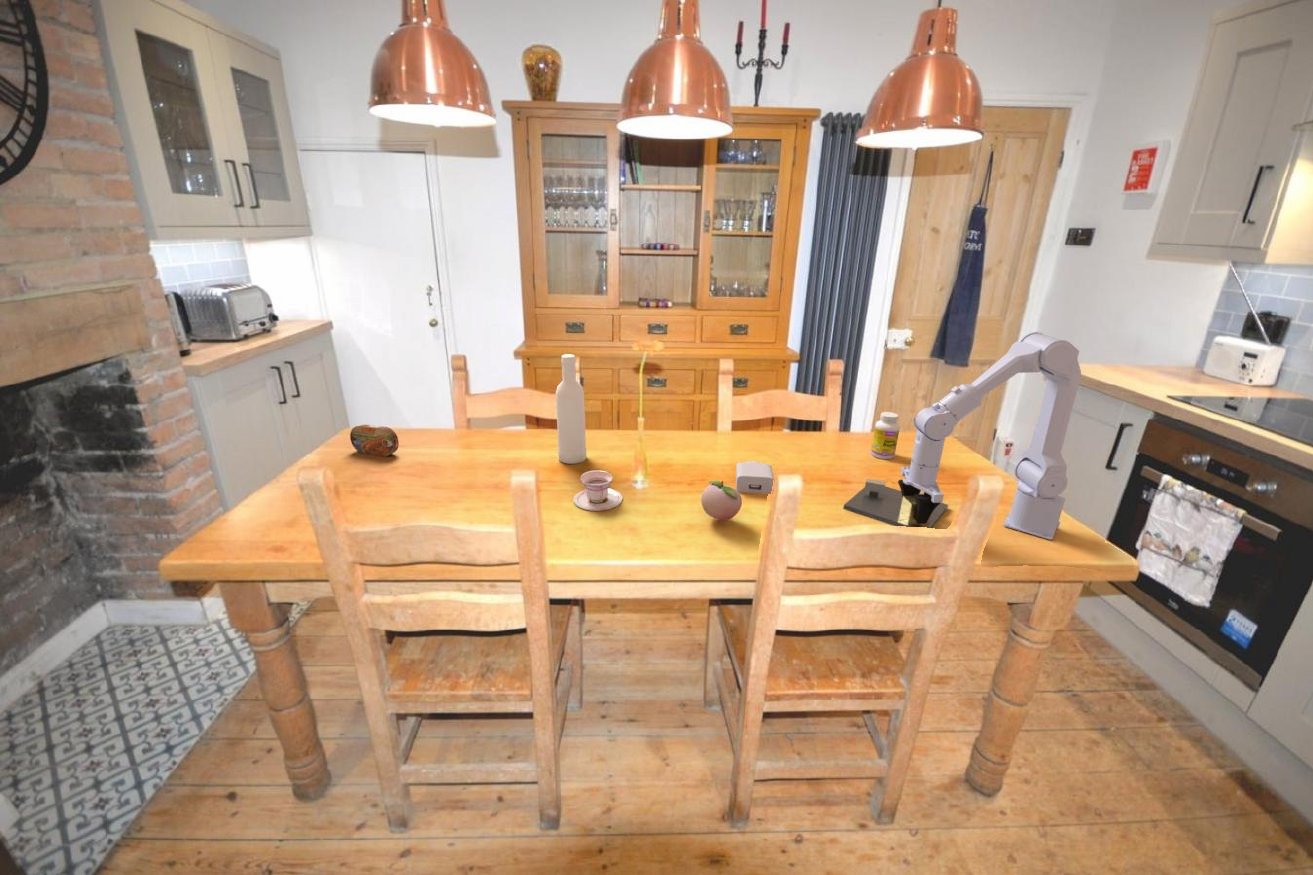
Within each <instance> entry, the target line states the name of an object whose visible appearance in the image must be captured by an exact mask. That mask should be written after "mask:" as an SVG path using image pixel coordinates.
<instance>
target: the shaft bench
mask: <svg viewBox="0 0 1313 875" xmlns="http://www.w3.org/2000/svg"><path fill="white" fill-rule="evenodd" d="M886 484H887V482H886V481H880V480H875V479H871V478H866V479H865V486H864V487H863V488H862V489H860V490H859V491H858V492H857V493H856V494H855V495H853V497H851V498H850V499H849V500H848V501H847V502H846V503H844V504H843V509H844V510H847V511H850V512H853V513H855V514H859V515H862V516H866V517H868V518H871V519H874V520H877V521H880V522H883V523H887V524H889V525H893V526H896V527H898V526H906V527H927V528H932V529H933V528H934V526H935V525H936V524H937V522H939V520H940V519H941V518H942V516H943V515H944V514H945V513H946V511H947V510H948V508H949V504H947V503H944V502H942V503H940V504H939V505H938V506H937V507H936V508H935V509H934V511H933V512H932V514H931V516H930V521H929V523H925V524H908V523H907V522H906V521H905V520H904V519H903V518H902V517H901V516H900V515H899V514H900V509H901V504H902V493H901V490H899V489H896V488H892V487H889V486H886ZM920 494H923V495H924V492H921V491H920Z"/></svg>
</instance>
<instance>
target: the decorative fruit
mask: <svg viewBox="0 0 1313 875" xmlns="http://www.w3.org/2000/svg"><path fill="white" fill-rule="evenodd" d="M708 483H709V485H708V486H707V487H706V488H705V489H704V490H703V492H702V493H701V497H700V498H701V500H700V502H701V507H702V508H703V510H704V512H705V513H706V515H708V516H709V517H711V518H713V519H716V520H717V521H721V522H723V521H728V520H730V519H732V518H735V517H736V515H737V514H738V513H739V511H740V510H741V508H742V503H743V499H742V496H741V494H740V492H738V491H737V490H736V488H734V487H732V486H729V485H726V484H725V483H724V481H723V480H722V481H720V480H715V479H714V480H713V479H712V480H709V481H708Z"/></svg>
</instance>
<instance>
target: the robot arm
mask: <svg viewBox="0 0 1313 875" xmlns="http://www.w3.org/2000/svg"><path fill="white" fill-rule="evenodd" d="M1079 354H1080V350H1079V348H1076V347H1075V346H1074V345H1073V344H1072V343H1071V342H1069V341H1067V340H1065V339H1059V338H1056V337H1053V336H1049V335H1046V334H1043V333H1042V332H1038V331H1033V332H1029V333H1027V334H1025V335H1023V336H1022V337H1021V339H1019V340H1017V341H1016V342H1014V343H1013V344H1011V346H1010V347H1009V349H1008V351H1007V352H1006V353H1005V355H1003V356H1002V357H1001V358H1000V359H999V360H997V361H996V362H995V363H994V364H992V365H991V366H990V367H989V368H988V369H987V370H986V371H984V373H982V374H981V375H979V377H977V378H976V379H975V380H974V381H973V382H971V383H969V384H968V383H967V384H963V383H962V384H960V385H959V386H957V385H955V386H954V387H952V388H950V391H951V392H950V393H948V394H946V395H945V396H944V397H943V398H942V399H940V400H939V401H937V402H934V403H933V404H932V406H929V407H924V408H923V409H921V410H920V411H919V412H918V413H917V415H916V417H913V425H914V426H915V428H916V434H915V440H914V445H913V450H912V456H911V462H910V466H902V467H901V470H900V475H901V476H902V477H904V478H903V479H899V480H898V482H897V483H898V486H899V488H900V491H901V493H902V499H903V496H914V497H915V500H916V506H917V511H916V522H917V523H918V524H925V523H927V521H928V519H929V517H930V515H931V514H932V512H933V511H934V509H935V508H936V507H937V506H938V505H939V504H940V503H943V501H944V496H945V495H944V493H943V492H942V491H941V489H940V485H939V484H938V482H937V480H938V474H939V470H940V465H941V459H942V455H943V450H944V446H945V441H946V438H948V437H950V436H951V435H952V433H953V432H954V428H955V426H956V425H957V424H958V423H959V422H960V421H961V420H962V419H964V418H966V416H968V415H970V413H972V412H973V411H974V410H976V409H977V408H978V407H980V406H981V405H982V403H983V402H982V401H983V397H984V396H985V395H986V394H989V393H991V391H993V390H994V389H996V388H998V387H999V386H1001V385H1002V384H1004V383H1006V381H1008V380H1010V379H1012V378H1013V377H1014V376H1015V375H1017V374H1021V373H1023V374H1024V373H1026V374H1027V373H1028V374H1029V373H1041V374H1042V375H1043V376H1044V377H1045V379H1046V383H1045V387H1044V391H1043V394H1042V400H1041V402H1040V403H1041V404H1040V408H1039V413H1038V416H1037V419H1036V424H1035V428H1034V429H1035V430H1034V433H1033V437H1032V441H1031V445H1030V447H1029V448H1027V449H1025V450H1022V454H1021V457H1020V459H1019V460H1018V461H1017V463H1016V464H1015V466H1014V471H1013V472H1014V475H1015V477H1016V478H1017V482H1016V484H1017V487H1016V491H1015V494H1014V499H1013V501H1012V505H1011V509H1010V512H1009V514H1008V515H1007V517H1006V519H1005V521H1004V522H1003V526H1004V527H1005V528H1009V529H1012V530H1016V531H1019V532H1023V533H1026V534H1030V535H1032V536H1035V537H1039V538H1043V539H1046V540H1050V541H1052V540H1053V538H1054V536H1055V533H1056V531H1057V530H1059V527H1060V525H1061V521H1060V518H1061V515H1062V511H1063V508H1064V505H1065V501H1066V497H1063V496H1060V495H1061V494H1062V493H1063V492H1064V491H1065V490H1066V488H1067V486H1068V483H1069V482H1068V477H1067V470H1068V466H1067V463H1066V462H1065V460H1064V458H1063V456H1062V450H1063V445H1064V442H1065V437H1066V434H1067V430H1068V427H1069V422H1070V419H1071V415H1072V411H1073V407H1074V404H1075V400H1076V395H1077V391H1078V387H1079V385H1080V384H1079V383H1080V380H1081V377H1082V370H1081V367H1080V364H1079V359H1078V356H1079ZM921 491H922V493H923V494H924V495H923V494H920V492H921Z"/></svg>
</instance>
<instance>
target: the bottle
mask: <svg viewBox="0 0 1313 875" xmlns="http://www.w3.org/2000/svg"><path fill="white" fill-rule="evenodd" d="M560 363H561V373H562V376H561V377H562V380H561V382H560V383H559V384H558V385H557V388H556V391H555V405H556V406H555V410H556V427H557V430H556V431H557V453H558V461H560V462H561V463H563V464H568V465H570V464H572V465H574V464H579V463H583V462H584V461H586V459H587V444H586V437H587V436H586V413H585V410H586V409H585V392H584V389H583V386H582V384H581V383H580V382H578V380H577V373H576V363H577V361H576V356H575V354H563V355H561V359H560Z"/></svg>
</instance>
